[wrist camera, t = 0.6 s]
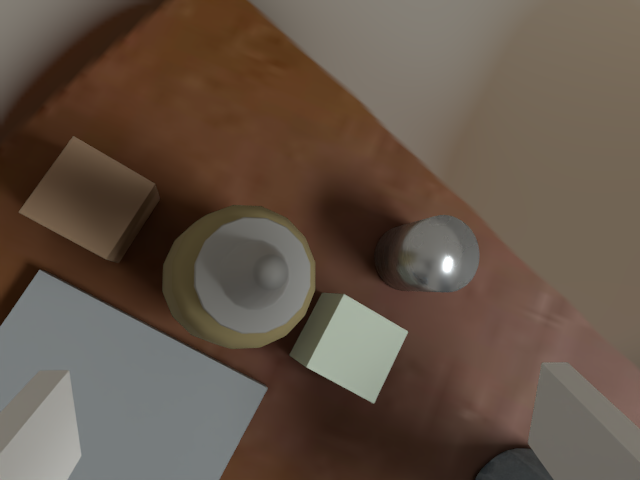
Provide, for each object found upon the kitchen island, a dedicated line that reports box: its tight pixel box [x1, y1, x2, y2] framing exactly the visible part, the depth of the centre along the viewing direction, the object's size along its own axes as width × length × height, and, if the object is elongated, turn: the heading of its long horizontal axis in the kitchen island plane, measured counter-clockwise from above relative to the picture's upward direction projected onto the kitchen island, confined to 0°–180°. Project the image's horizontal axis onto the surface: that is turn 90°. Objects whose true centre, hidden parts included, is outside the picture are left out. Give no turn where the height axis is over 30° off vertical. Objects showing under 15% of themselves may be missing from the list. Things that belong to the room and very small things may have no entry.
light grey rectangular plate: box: [0, 270, 268, 480], centre depth 28 cm, size 18×16×1 cm
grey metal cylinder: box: [374, 215, 479, 292], centre depth 33 cm, size 5×5×6 cm
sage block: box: [289, 293, 408, 403], centre depth 31 cm, size 5×5×5 cm
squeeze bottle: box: [162, 205, 315, 349], centre depth 23 cm, size 8×8×18 cm
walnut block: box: [19, 136, 160, 263], centre depth 28 cm, size 5×5×5 cm
